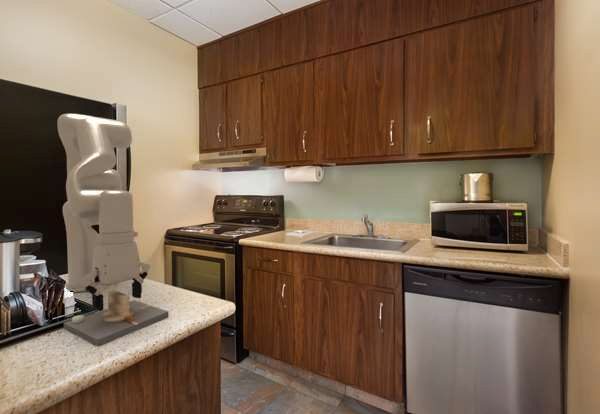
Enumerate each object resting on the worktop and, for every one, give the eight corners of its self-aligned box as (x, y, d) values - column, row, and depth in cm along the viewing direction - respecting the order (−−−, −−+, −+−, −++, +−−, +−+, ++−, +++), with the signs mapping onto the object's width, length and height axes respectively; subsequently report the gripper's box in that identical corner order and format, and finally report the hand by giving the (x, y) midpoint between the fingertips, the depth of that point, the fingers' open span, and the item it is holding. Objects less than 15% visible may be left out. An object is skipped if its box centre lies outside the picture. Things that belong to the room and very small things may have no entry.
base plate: (63, 328, 74) (63, 318, 74) (134, 304, 90) (134, 296, 90) (98, 346, 66) (98, 334, 66) (168, 316, 82) (168, 307, 82)
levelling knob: (97, 318, 77) (96, 295, 76) (124, 309, 83) (123, 287, 82) (119, 327, 72) (118, 302, 71) (146, 317, 78) (145, 294, 77)
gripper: (140, 233, 86) (141, 291, 87) (71, 241, 71) (73, 311, 72) (156, 235, 82) (157, 295, 83) (87, 244, 67) (89, 318, 68)
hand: (118, 303), depth 77 cm, fingers open, 9 cm apart
